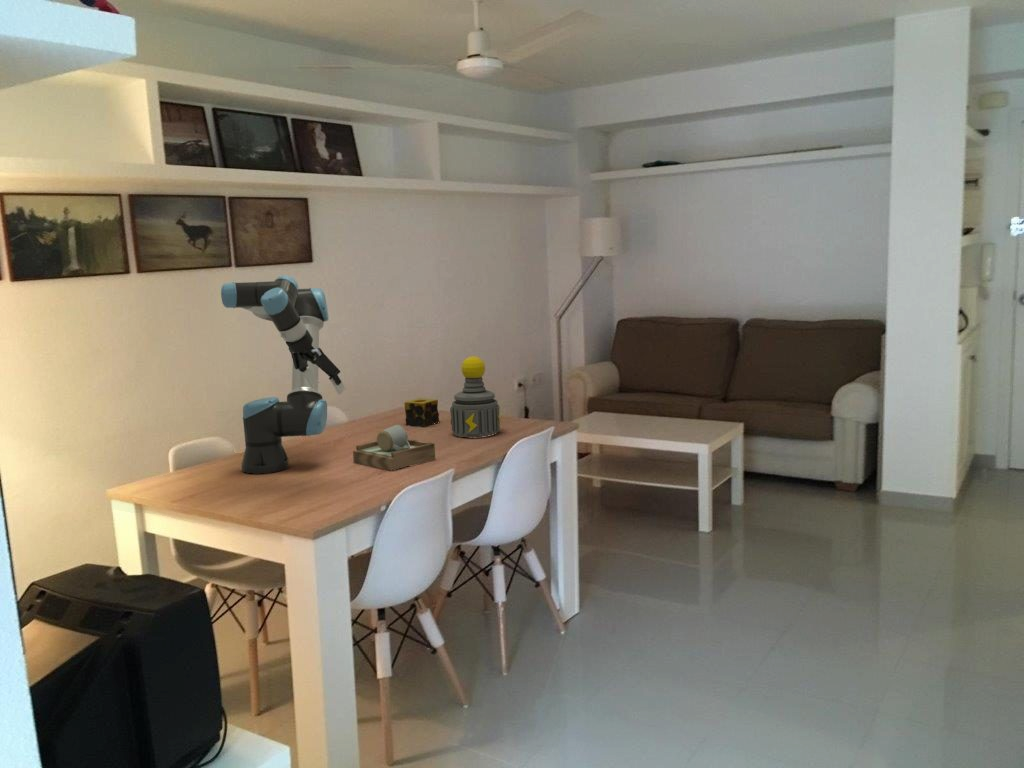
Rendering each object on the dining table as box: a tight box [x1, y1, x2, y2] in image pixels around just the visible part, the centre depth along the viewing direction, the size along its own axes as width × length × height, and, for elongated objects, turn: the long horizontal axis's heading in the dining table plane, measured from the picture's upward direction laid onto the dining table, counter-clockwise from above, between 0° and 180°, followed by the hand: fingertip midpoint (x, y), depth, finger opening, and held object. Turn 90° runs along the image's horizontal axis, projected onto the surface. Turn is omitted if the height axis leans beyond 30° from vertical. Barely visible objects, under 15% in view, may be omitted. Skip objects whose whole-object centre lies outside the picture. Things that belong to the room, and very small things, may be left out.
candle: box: [404, 398, 440, 428], centre depth 346 cm, size 10×10×10 cm
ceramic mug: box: [376, 424, 410, 451], centre depth 281 cm, size 11×8×8 cm
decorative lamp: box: [449, 355, 501, 438], centre depth 322 cm, size 19×19×30 cm
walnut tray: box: [352, 438, 436, 472], centre depth 284 cm, size 20×19×6 cm
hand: (328, 388), depth 266 cm, fingers open, 13 cm apart
